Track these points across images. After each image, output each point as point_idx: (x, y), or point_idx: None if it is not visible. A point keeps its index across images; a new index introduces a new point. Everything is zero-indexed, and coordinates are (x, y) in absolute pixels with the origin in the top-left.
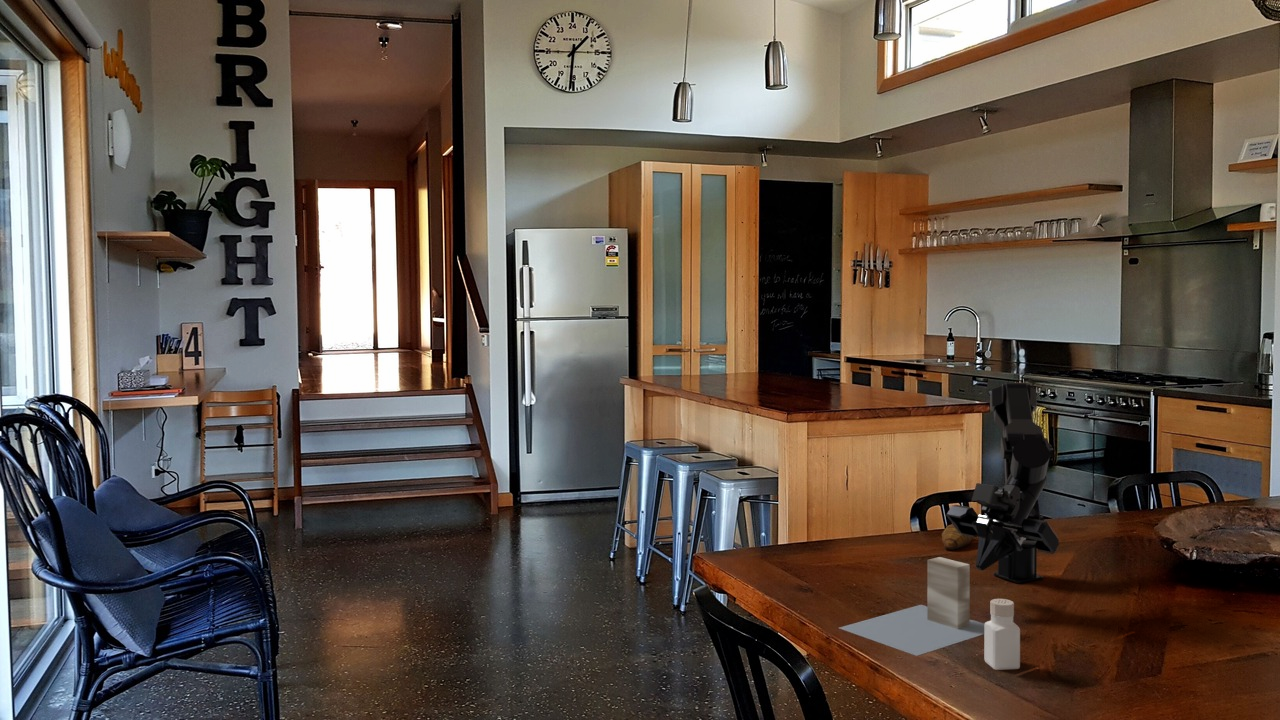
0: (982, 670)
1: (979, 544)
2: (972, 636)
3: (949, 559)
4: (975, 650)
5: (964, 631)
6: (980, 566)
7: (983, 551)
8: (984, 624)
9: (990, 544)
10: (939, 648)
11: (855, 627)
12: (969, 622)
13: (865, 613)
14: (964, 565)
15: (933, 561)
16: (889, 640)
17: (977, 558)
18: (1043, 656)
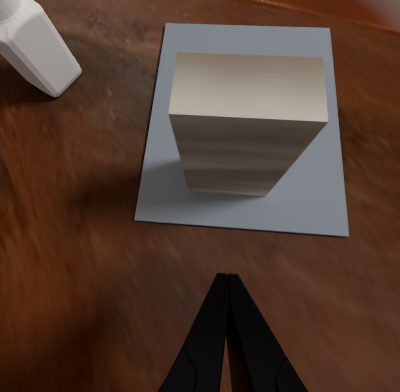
0: (73, 50)
1: (288, 375)
2: (151, 144)
3: (272, 119)
4: (119, 104)
5: (175, 155)
6: (216, 275)
7: (238, 341)
8: (41, 7)
9: (202, 386)
10: (159, 64)
11: (314, 46)
12: (188, 188)
13: (373, 119)
14: (174, 89)
15: (292, 57)
16: (234, 40)
17: (247, 297)
18: (20, 156)
